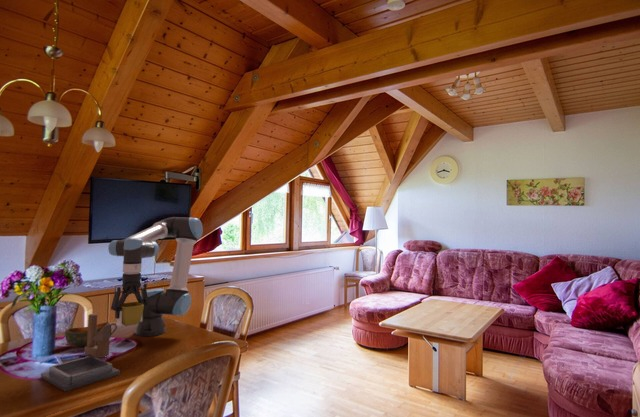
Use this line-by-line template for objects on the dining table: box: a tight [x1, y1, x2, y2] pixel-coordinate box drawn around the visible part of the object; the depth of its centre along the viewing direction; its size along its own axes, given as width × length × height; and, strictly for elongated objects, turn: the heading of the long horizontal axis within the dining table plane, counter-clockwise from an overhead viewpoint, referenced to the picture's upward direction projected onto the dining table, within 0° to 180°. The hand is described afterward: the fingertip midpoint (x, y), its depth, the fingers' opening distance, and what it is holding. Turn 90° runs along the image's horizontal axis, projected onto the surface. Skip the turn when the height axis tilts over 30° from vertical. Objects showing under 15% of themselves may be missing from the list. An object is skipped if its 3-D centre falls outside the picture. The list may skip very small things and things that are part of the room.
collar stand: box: [40, 355, 121, 393], centre depth 153 cm, size 20×20×4 cm
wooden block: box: [84, 313, 111, 359], centre depth 176 cm, size 4×11×18 cm, turn 72°
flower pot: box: [120, 301, 144, 327], centre depth 174 cm, size 9×9×9 cm
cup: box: [64, 321, 118, 349], centre depth 189 cm, size 13×20×10 cm, turn 85°
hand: (129, 323), depth 174 cm, fingers closed on flower pot, 9 cm apart
